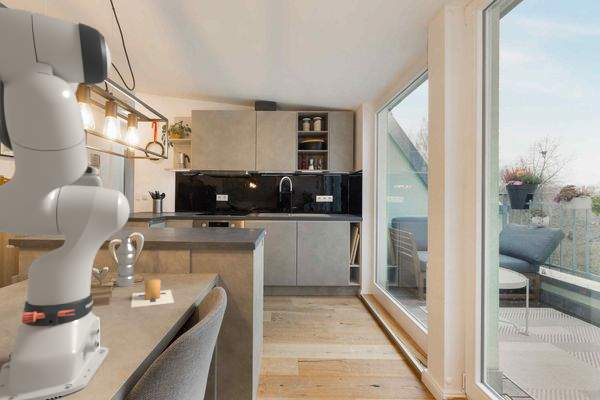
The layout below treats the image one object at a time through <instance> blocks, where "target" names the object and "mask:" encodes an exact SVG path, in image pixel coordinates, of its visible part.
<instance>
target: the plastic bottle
mask: <svg viewBox="0 0 600 400" xmlns="http://www.w3.org/2000/svg"><path fill="white" fill-rule="evenodd" d="M120 242H121V244H120V245H119V246H118V248H117V250H116V257H117V264H118V265H117V267H118V268H117V275H116V280H115V285H116V287H118V288H128V287H131V286H134V285H135V279H136V278H135V273H134V262H135V261H134V259H135V255H136V248H135V247H134V245H133V244H132V243H133V237H131V236H130V237H129V236H125V237H124V236H123V237H121V241H120Z"/></svg>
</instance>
